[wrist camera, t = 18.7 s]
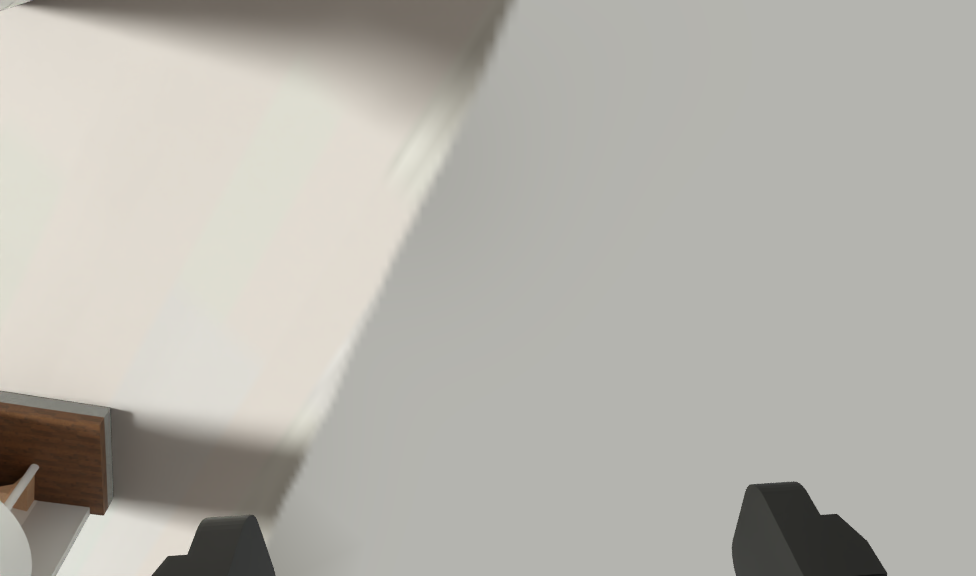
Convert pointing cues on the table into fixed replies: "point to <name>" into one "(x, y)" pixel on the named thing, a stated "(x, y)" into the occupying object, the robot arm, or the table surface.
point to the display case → (49, 479)
